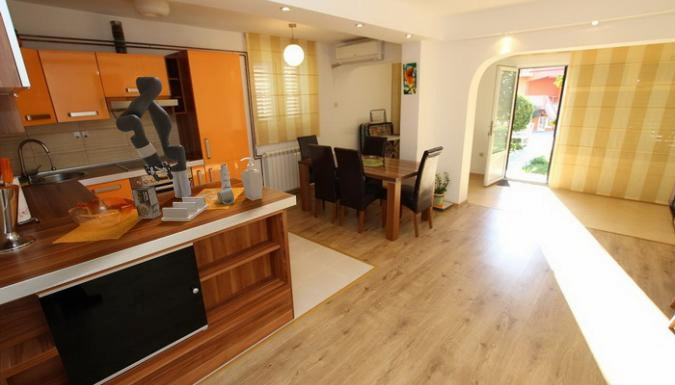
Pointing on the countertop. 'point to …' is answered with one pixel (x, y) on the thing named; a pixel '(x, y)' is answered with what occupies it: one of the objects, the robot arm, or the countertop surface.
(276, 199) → the countertop surface
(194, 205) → the slot rack
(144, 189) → the coffee box
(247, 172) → the soap bottle
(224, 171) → the plastic bottle
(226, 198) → the ceramic mug
